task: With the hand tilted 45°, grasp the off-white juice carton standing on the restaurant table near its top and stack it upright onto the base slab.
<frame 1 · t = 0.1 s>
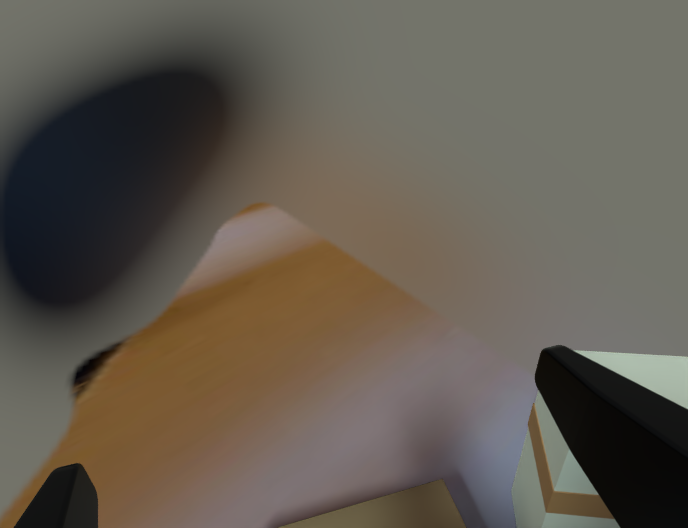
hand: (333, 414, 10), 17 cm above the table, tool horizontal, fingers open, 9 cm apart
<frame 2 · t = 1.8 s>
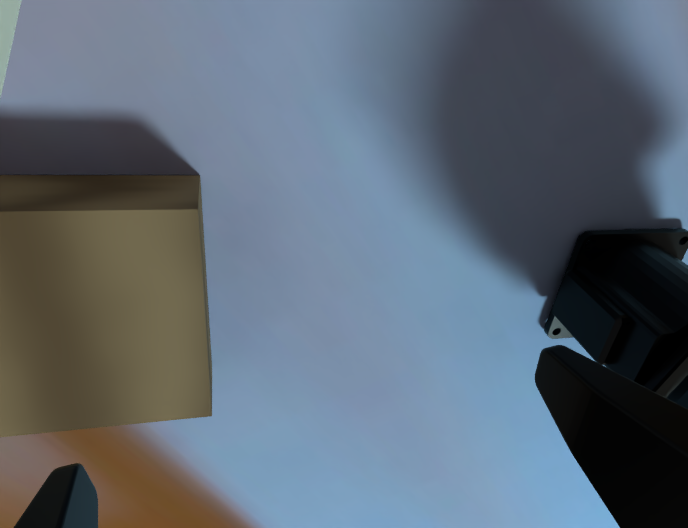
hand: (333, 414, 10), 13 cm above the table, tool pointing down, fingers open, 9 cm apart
base: (81, 288, 21), on the table
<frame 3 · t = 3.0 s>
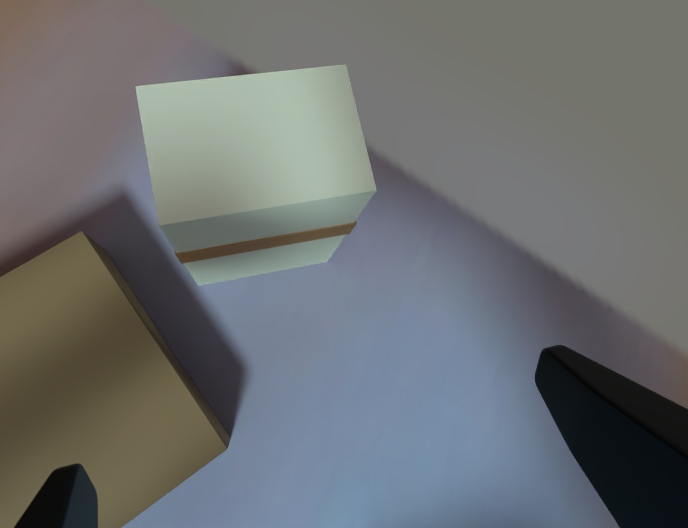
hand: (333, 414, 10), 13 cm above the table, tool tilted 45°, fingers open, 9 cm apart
base: (58, 413, 21), on the table
carton: (256, 232, 24), on the table
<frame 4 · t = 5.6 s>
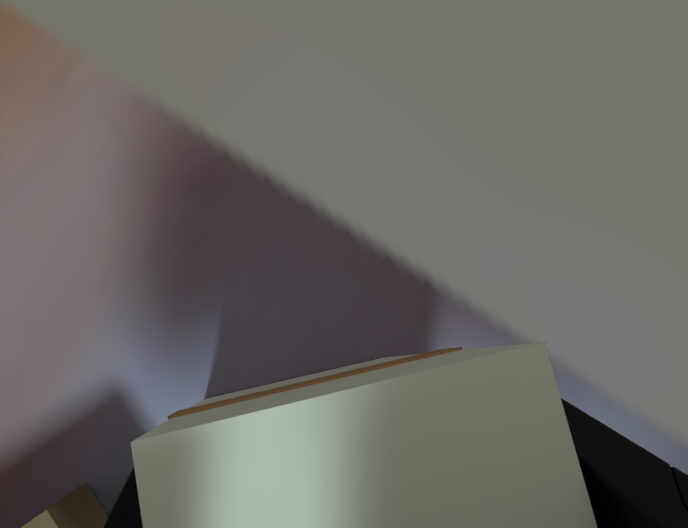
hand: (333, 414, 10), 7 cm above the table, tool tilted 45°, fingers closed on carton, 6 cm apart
carton: (309, 439, 16), on the table, touching gripper
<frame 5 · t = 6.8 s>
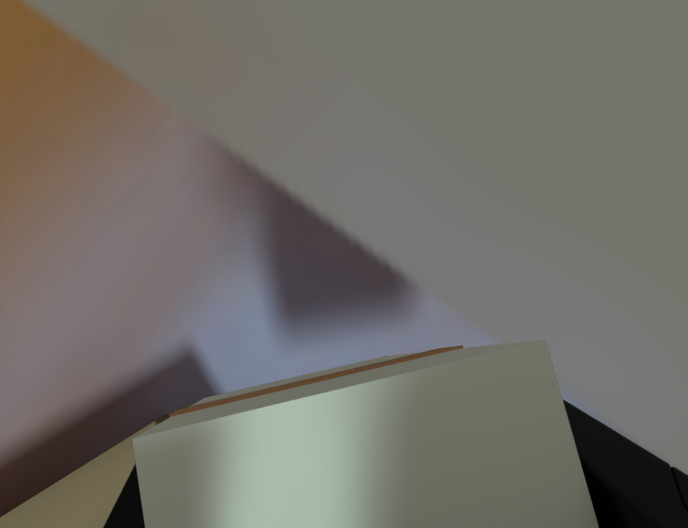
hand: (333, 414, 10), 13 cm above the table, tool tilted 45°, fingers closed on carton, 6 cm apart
carton: (310, 438, 16), point 6 cm above the table, touching gripper
when the fingers open (11 cm above the table, at t = 8.3 s): carton stays where it is, resting on base.
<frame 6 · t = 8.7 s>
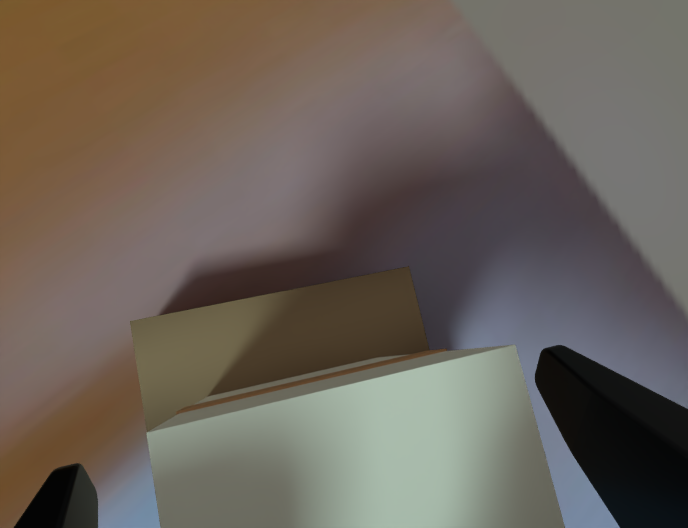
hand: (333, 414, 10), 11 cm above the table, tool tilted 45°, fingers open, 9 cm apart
base: (298, 425, 20), on the table
carton: (307, 435, 17), point 3 cm above the table, touching base
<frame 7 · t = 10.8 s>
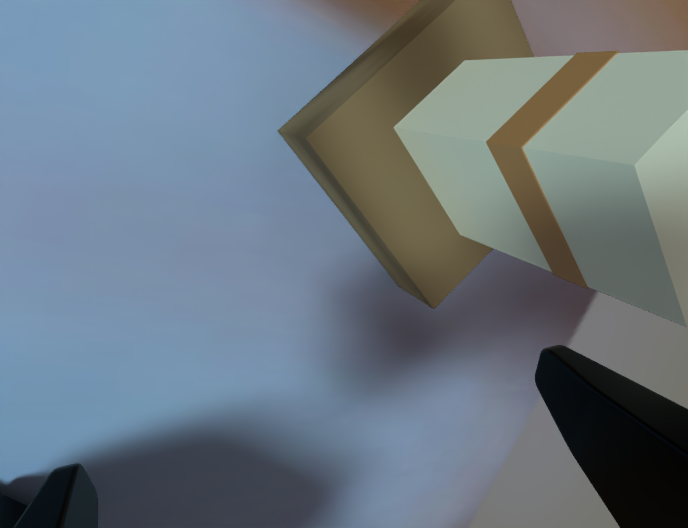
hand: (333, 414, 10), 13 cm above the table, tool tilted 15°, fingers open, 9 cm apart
base: (421, 144, 24), on the table
carton: (462, 152, 21), point 3 cm above the table, touching base
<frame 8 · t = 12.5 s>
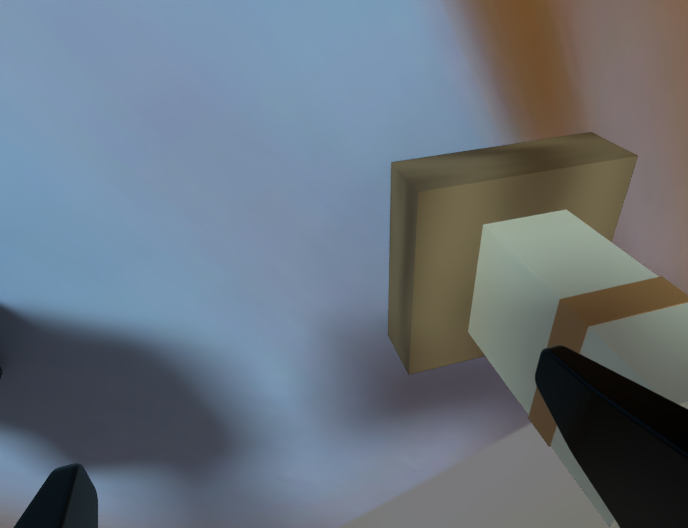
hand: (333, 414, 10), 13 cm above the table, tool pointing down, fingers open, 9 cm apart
base: (482, 240, 26), on the table
carton: (514, 274, 23), point 3 cm above the table, touching base
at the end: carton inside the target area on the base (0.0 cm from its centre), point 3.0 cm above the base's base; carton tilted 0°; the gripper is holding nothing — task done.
